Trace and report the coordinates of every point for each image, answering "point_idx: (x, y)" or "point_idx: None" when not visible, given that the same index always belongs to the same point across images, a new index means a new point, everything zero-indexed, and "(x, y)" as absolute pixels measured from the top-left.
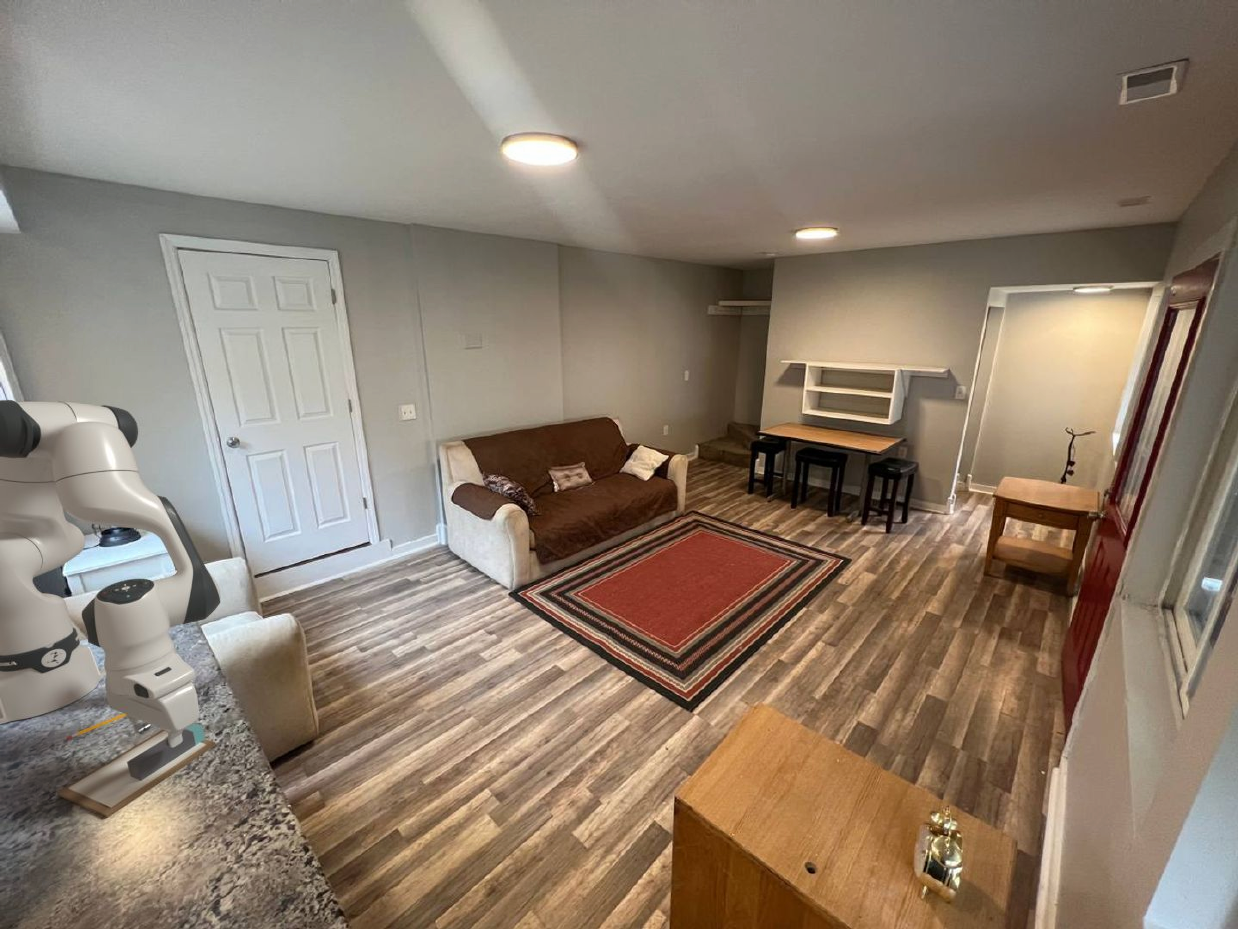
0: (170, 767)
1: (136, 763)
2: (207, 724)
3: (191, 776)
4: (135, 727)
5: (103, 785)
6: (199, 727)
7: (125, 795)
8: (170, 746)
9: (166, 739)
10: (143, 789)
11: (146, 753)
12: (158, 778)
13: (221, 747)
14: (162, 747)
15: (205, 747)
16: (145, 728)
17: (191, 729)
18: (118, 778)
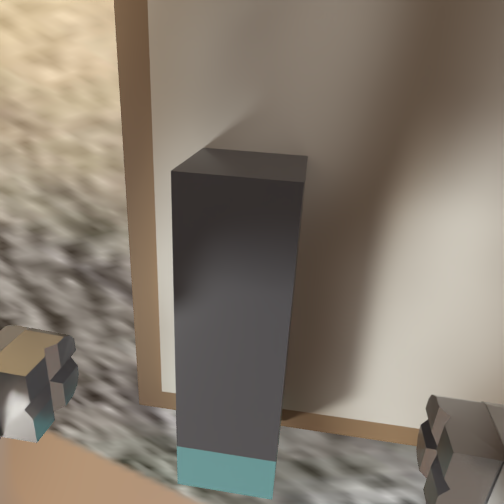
0: (158, 253)
1: (210, 188)
2: (333, 483)
3: (34, 239)
4: (492, 444)
5: (406, 56)
6: (180, 473)
7: (159, 40)
8: (10, 329)
9: (5, 369)
10: (127, 109)
11: (255, 272)
12: (140, 186)
13: (106, 387)
14: (208, 329)
15: (148, 377)
16: (431, 442)
17: (208, 459)
18: (370, 125)
